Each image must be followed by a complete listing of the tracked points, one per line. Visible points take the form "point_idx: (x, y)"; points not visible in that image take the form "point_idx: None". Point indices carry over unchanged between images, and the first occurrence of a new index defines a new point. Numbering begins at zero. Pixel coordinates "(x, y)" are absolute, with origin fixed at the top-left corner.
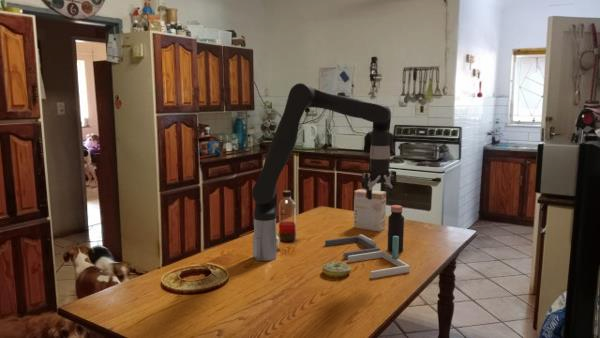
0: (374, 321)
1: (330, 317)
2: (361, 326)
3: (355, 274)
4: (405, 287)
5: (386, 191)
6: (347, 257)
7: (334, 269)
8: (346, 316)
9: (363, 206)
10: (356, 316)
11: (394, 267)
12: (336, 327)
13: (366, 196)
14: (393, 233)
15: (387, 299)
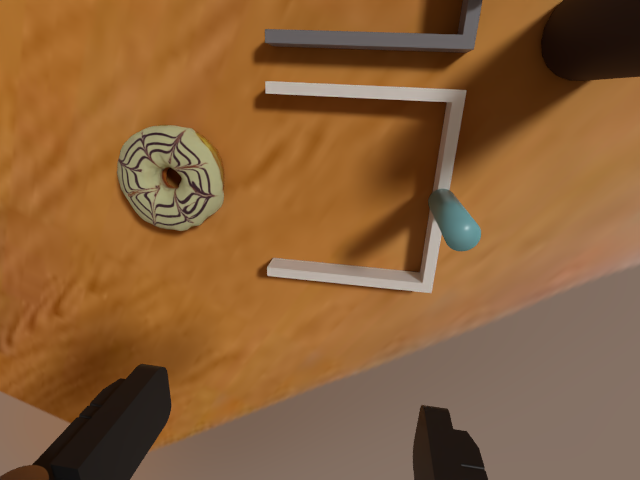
0: (163, 434)
1: (83, 383)
2: None
3: (239, 213)
4: (329, 357)
5: (430, 474)
6: (286, 46)
7: (144, 213)
8: None
9: None
10: None
11: (366, 279)
12: None
13: (103, 396)
14: (600, 51)
15: (241, 382)
